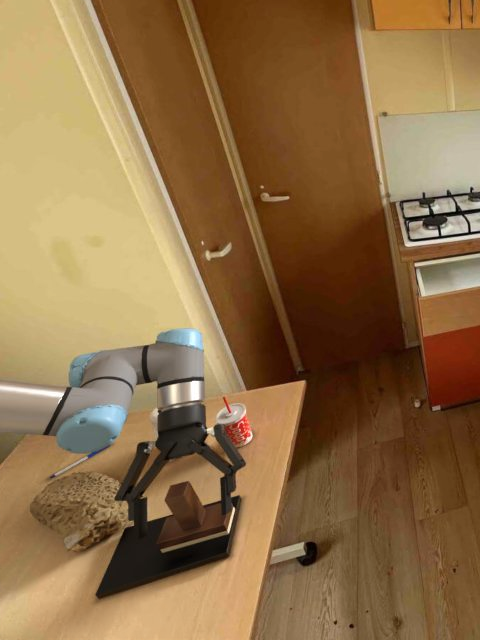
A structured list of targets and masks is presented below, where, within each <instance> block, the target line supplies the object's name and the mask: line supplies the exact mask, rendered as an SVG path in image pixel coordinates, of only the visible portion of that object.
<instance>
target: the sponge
mask: <svg viewBox="0 0 480 640" xmlns="http://www.w3.org/2000/svg"><path fill="white" fill-rule="evenodd" d="M121 484H122V483H120V481H119V480H118V479H114V478H113V477H110V476H108V475H106V474H102V473H100V472H97V471H95V470H89V471H78V472H72V473H71V474H69V475H68V474H67V475H63V476H61V477H59V478H57V479H54V480H53V481H52V482H50V483H48V484H47V485H46V486H45V487H44V489H42V490H41V492H39V493H37V494H36V495H35V497H34V498H33V501H31V503H30V504H29V512H30V513H31V515H32V517H33V518H34V519H35V520H36V521H37V522H39V524H41V525H42V526H45V527H47V528H49V529H51V531H52V532H55V533H56V534H60V538H59V539H60V541H61V544H62V546H63V547H64V549H65V550H66V552H67V553H70V552H71V553H76V552H78V551H80V552H81V551H84V550H86V549H87V547H90V546H92V545H94V544H96V543H98V542H100V541H101V539H102V540H103V539H104V537H105V535H106V536H108V535H109V536H110V535H112V534H116V533H119V532H120V531H121V530H122V529H123V528H124V527H125V525H126V524H127V522H126V521H127V519H128V502H127V501H116V500H115V496H116V494H117V492H118V490H119V488H120V486H121Z"/></svg>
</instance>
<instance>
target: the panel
mask: <svg viewBox="0 0 480 640" xmlns="http://www.w3.org/2000/svg"><path fill="white" fill-rule="evenodd" d="M242 500H243V498H242V496H241V495H240V494H238V495H235V496H231V502H232V504H233V506H234V508H235V512H234V516H233V520H232V524H231V527H230V531H229V534H226V535H223V536H219V537H216V538H212V539H209V540H205V541H202V542H198V543H195V544H191V545H188V546H185V547H181V548H178V549H174V550H171V551H167V552H164V553H162V552H161V550H160V549H159V547H158V546H157V544H156V543H157V541H158V538H159V536H160V533H161V531H162V528H163V526H164V523H165V521H166V518H168V517H172V516H174V515H173V514H172V513H171V514H169V515H165V516H161V517H158V518H155V519H151V520H147V536H145V537H143V538H141V539H139V540H136V541H134V525H130V526H127V527H124V529H123V532H122V534H121V535H120V538H119V540H118V543H117V545H116V547H115V548H114V551H113V554H112V556H111V558H110V560H109V563H108V565H107V567H106V570H105V572H104V573H103V576H102V578H101V581H100V583H99V584H98V588H97V589H96V592H95V594H94V596H95V597H96V598H97V599H98V600H101V599H105V598H108V597H111V596H114V595H117V594H120V593H123V592H126V591H129V590H132V589H135V588H139V587H142V586H145V585H148V584H150V583H153V582H158V581H160V580H164V579H166V578H169V577H173V576H176V575H179V574H182V573H186V572H188V571H191V570H194V569H196V568H200V567H203V566H206V565H209V564H212V563H216V562H219V561H222V560H224V559H225V560H226V559H227V558H230V555H231V551H232V545H233V540H234V538H235V537H234V536H235V533H236V532H235V531H236V527H237V523H238V519H239V514H240V510H241V504H242ZM220 503H221V499H220V500H217V501H214V502H211V503H206V504H202V505H203V507H204V508H205V507H209V506H213V505H216V504H220Z"/></svg>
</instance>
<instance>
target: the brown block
mask: <svg viewBox="0 0 480 640" xmlns="http://www.w3.org/2000/svg"><path fill="white" fill-rule="evenodd" d="M164 503H165V504H166V505H167V507H168V509H169V510H170V512H171V515H172V514H173V515H174V516H172V517H168V518H166V521H165V523H164V526H163V528H162V531H161V533H160V536H159V538H158V541H157V543H156V544H157V546H158V547H159V549H160V550H161V552H162V553H164V552H167V551H171V550H174V549H178V548H181V547H185V546H188V545H191V544H195V543H198V542H202V541H205V540H209V539H212V538H216V537H219V536H223V535H226V534H229V531H230V527H231V524H232V520H233V516H234V512H235V508H234V506H233V504H232V502H231V505H232V511H231V512H229V513H228V514H225V515H222V508H221V503H220V504H216V505H213V506H209V507H205V508H204V507H203V505H204V504H203V503H202V501H201V499H200V497H199V496H198V494H197V492H196V490H195V489H194V487H193V485H192V482H190V480H187V481H182V482H178V483H175V484H171V485H169V488H168V490H167V492H166V495H165V497H164Z"/></svg>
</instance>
